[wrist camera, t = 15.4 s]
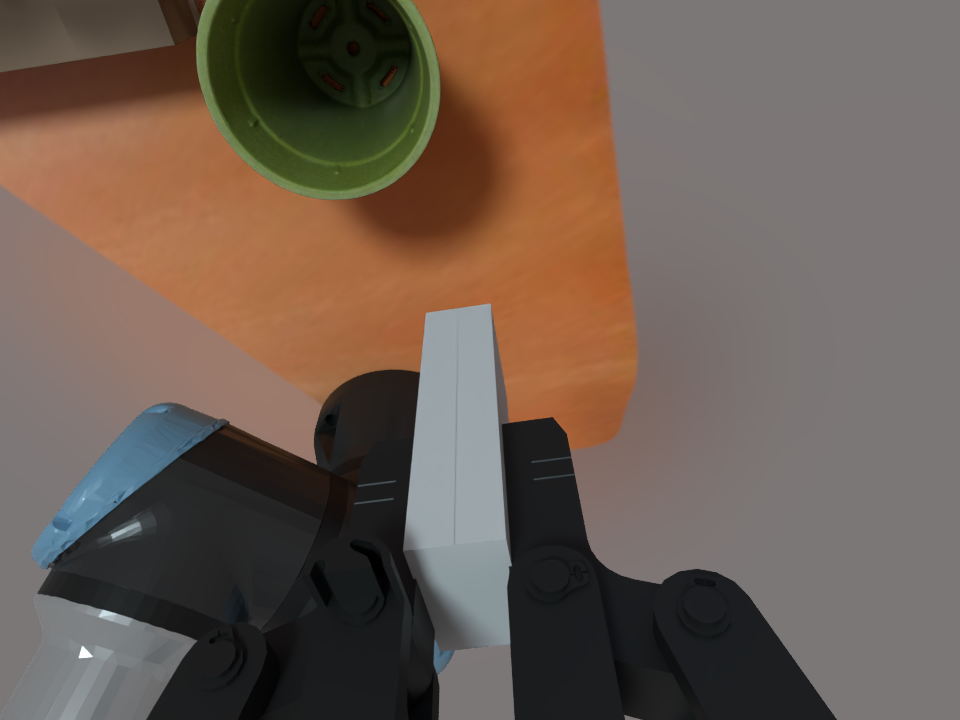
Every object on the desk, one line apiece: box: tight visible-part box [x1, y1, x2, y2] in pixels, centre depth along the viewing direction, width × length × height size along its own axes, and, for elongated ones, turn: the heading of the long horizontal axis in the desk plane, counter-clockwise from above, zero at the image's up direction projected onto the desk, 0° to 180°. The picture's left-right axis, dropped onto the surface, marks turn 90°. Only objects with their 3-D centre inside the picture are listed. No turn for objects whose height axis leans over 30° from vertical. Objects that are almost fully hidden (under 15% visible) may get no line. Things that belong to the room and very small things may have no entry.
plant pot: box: [196, 0, 441, 200], centre depth 35 cm, size 12×12×11 cm
